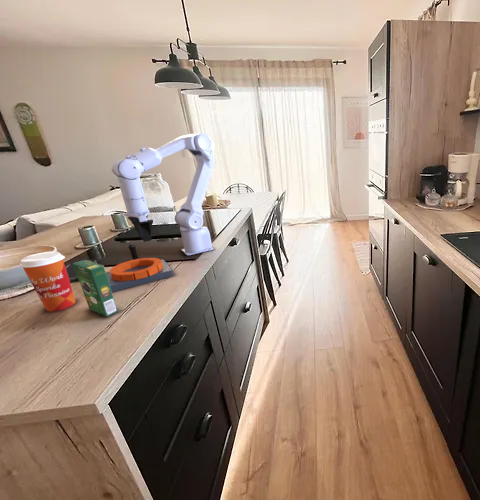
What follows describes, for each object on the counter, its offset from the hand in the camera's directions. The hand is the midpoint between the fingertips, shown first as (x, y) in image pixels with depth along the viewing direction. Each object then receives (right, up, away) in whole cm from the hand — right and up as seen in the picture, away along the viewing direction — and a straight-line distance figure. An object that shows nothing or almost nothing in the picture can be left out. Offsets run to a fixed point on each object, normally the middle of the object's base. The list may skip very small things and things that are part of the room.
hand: (145, 238), depth 97 cm
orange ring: (+3, -11, -7) cm, 13 cm away
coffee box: (+7, -20, -25) cm, 32 cm away
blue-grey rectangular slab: (+3, -13, -7) cm, 15 cm away
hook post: (-5, -9, +3) cm, 11 cm away
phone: (-20, -12, -4) cm, 24 cm away
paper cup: (-6, -19, -22) cm, 30 cm away
